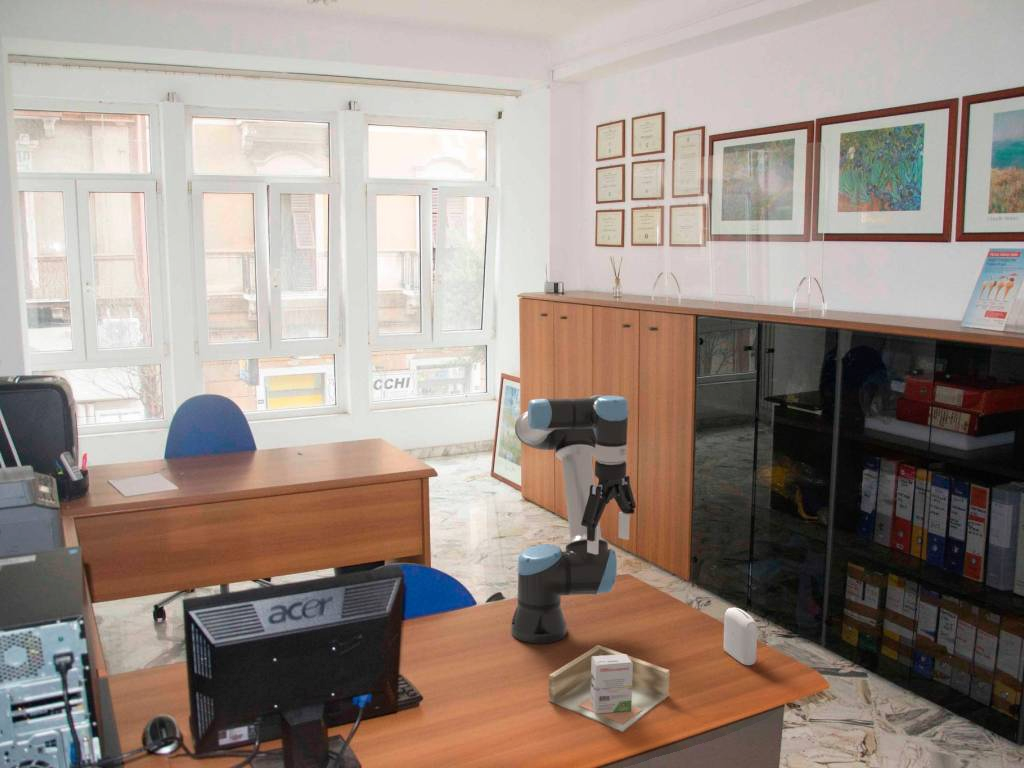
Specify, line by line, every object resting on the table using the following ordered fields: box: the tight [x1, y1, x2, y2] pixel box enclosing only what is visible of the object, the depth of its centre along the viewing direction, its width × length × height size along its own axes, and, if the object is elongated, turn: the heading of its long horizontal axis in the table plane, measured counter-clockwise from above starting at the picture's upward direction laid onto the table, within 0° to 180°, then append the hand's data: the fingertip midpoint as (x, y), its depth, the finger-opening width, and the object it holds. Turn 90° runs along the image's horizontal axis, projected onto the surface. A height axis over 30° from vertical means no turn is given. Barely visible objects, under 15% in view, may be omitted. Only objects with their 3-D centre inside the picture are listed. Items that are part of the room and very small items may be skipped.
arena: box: [548, 644, 670, 733], centre depth 202 cm, size 20×20×6 cm
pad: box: [579, 698, 643, 725], centre depth 198 cm, size 12×8×1 cm, turn 50°
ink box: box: [590, 653, 633, 714], centre depth 197 cm, size 8×5×12 cm, turn 99°
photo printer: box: [723, 607, 758, 666], centre depth 223 cm, size 10×4×12 cm, turn 20°
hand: (608, 545), depth 212 cm, fingers open, 13 cm apart
